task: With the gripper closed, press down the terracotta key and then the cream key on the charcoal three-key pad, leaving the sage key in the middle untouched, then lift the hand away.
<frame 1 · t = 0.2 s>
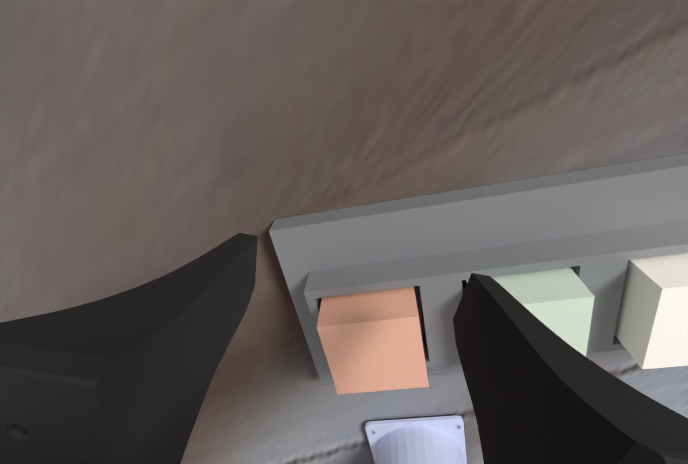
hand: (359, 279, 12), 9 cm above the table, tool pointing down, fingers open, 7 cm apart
stepped grey tray: (499, 278, 23), on the table
terracotta key: (374, 340, 21), point 4 cm above the table, slide at 0.0 cm
sage key: (523, 325, 19), point 4 cm above the table, slide at 0.0 cm
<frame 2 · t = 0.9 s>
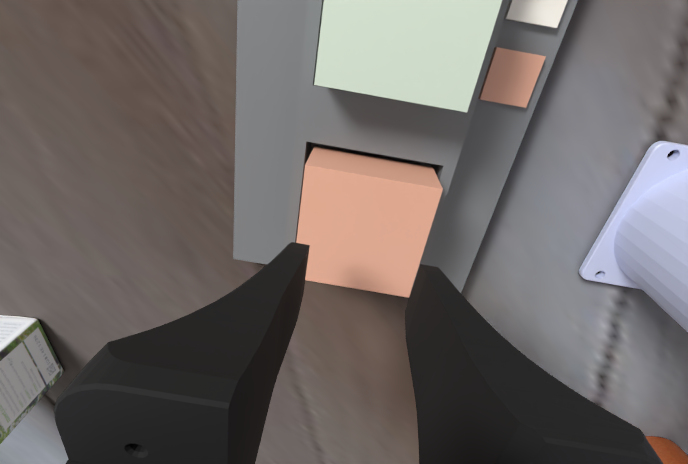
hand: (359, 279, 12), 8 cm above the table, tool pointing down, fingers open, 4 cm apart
stepped grey tray: (398, 16, 16), on the table
syrup box: (21, 341, 28), on the table
terracotta key: (362, 223, 16), point 4 cm above the table, slide at 0.0 cm
sage key: (406, 11, 12), point 4 cm above the table, slide at 0.0 cm
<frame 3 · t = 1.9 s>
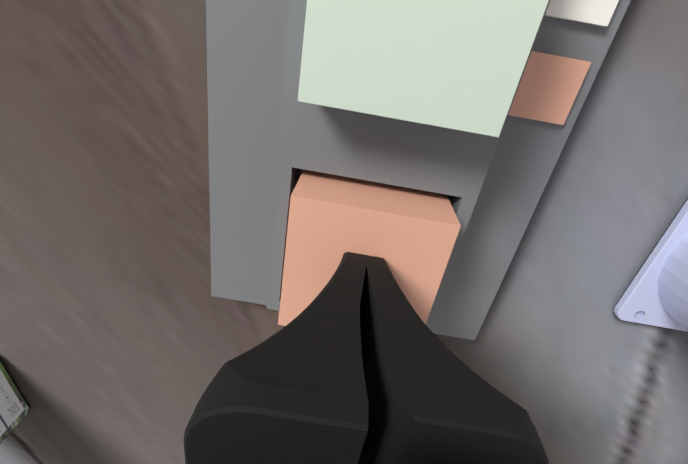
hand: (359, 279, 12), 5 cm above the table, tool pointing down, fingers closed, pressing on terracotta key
stepped grey tray: (405, 12, 13), on the table
terracotta key: (361, 259, 13), point 4 cm above the table, slide at 0.4 cm, touching gripper
sage key: (419, 3, 9), point 4 cm above the table, slide at 0.0 cm
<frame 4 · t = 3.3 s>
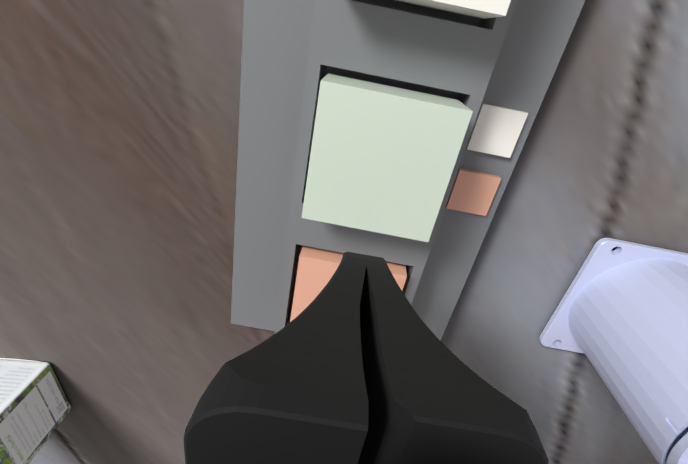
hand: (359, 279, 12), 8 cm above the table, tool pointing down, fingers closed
stepped grey tray: (377, 133, 18), on the table
syrup box: (33, 380, 30), on the table
terracotta key: (345, 292, 20), point 3 cm above the table, slide at 1.5 cm
sage key: (379, 159, 15), point 4 cm above the table, slide at 0.0 cm
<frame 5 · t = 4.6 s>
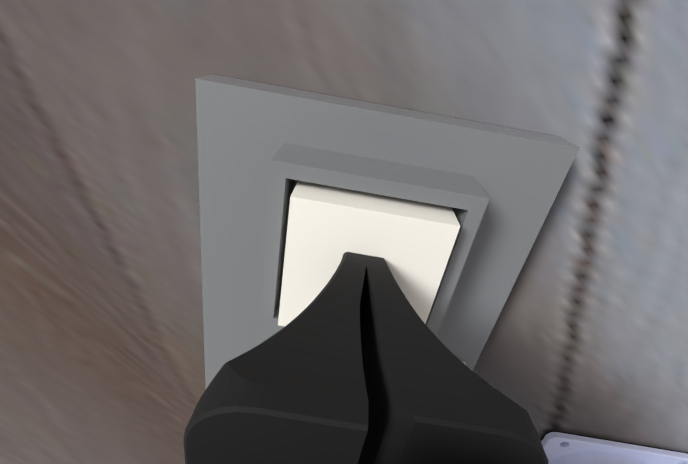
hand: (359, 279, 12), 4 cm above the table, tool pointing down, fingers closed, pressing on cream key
stepped grey tray: (335, 354, 20), on the table
cream key: (361, 260, 13), point 3 cm above the table, slide at 1.4 cm, touching gripper
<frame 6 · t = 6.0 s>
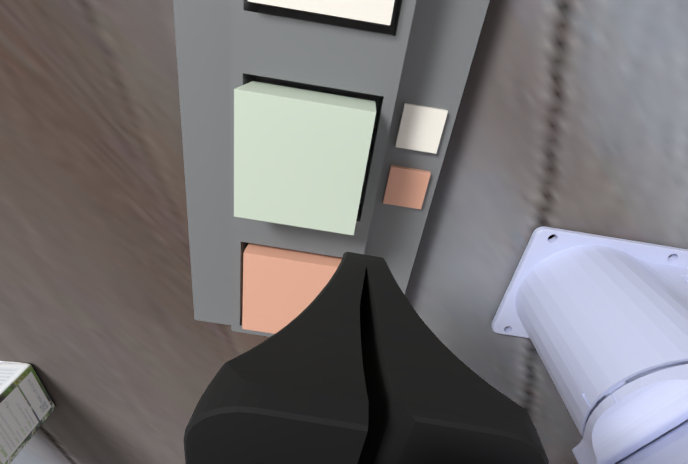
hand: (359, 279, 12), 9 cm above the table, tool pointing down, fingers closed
stepped grey tray: (316, 134, 19), on the table
syrup box: (17, 381, 31), on the table
terracotta key: (294, 286, 21), point 3 cm above the table, slide at 1.5 cm
sage key: (304, 159, 16), point 4 cm above the table, slide at 0.0 cm
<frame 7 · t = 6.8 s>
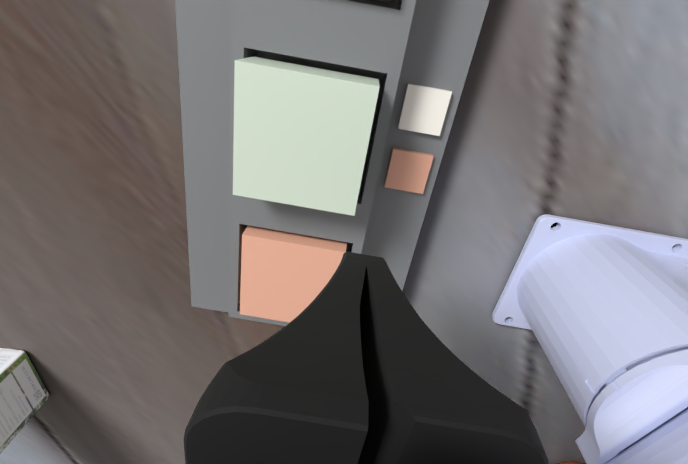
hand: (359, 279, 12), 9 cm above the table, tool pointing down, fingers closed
stepped grey tray: (317, 116, 19), on the table
syrup box: (11, 369, 31), on the table
terracotta key: (293, 271, 20), point 3 cm above the table, slide at 1.5 cm
sage key: (305, 137, 15), point 4 cm above the table, slide at 0.0 cm
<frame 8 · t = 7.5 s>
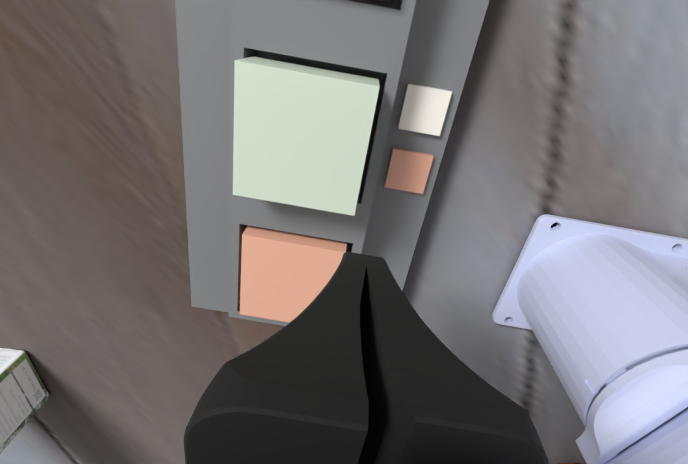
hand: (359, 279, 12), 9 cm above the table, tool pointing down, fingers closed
stepped grey tray: (317, 116, 19), on the table
syrup box: (11, 369, 31), on the table
terracotta key: (293, 271, 20), point 3 cm above the table, slide at 1.5 cm
sage key: (305, 137, 15), point 4 cm above the table, slide at 0.0 cm
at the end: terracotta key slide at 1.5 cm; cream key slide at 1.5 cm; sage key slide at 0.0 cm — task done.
